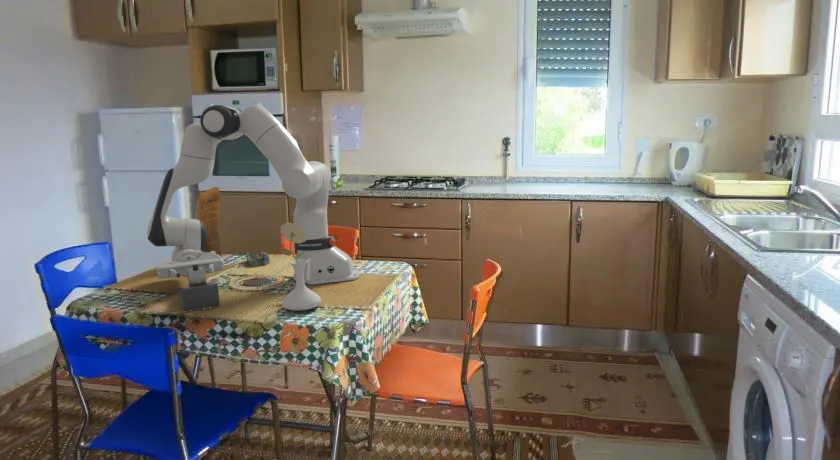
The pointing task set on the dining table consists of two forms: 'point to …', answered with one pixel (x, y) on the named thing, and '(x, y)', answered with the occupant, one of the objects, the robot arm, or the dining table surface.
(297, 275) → the flower in vase
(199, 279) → the block
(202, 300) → the block
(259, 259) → the grey building model
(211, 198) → the pancake mix bag
